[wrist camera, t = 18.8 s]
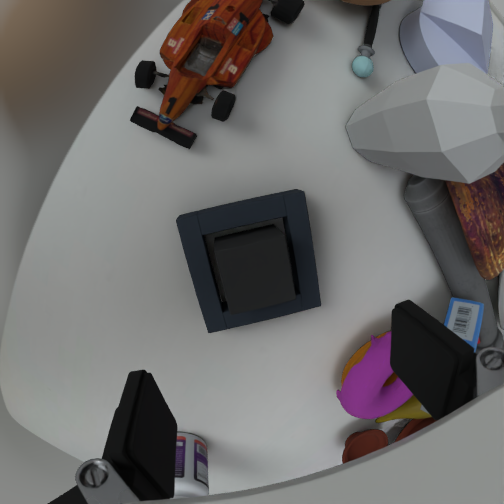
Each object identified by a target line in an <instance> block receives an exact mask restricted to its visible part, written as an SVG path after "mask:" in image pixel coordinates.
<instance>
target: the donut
mask: <svg viewBox="0 0 504 504" xmlns="http://www.w3.org/2000/svg"><path fill="white" fill-rule="evenodd" d="M390 350H391V331H388V332H385V333H383V334H381V335H379V336H377V337H374V336H373V335H371V341H369V342H367V343H366V344H365V345H363V346H362V347H361V348H360V349H359V350H358V351H357V352H356V353H355V354H354V355H353V356H352V357H351V358H350V360H349V361H348V363H347V364H346V366H345V368H344V371H343V374H342V380H341V383H342V388H341V391H339V390H337V398H338V399H339V400H340V402H341V405H342V406H343V408H344V409H345V410H346V412H348V413H349V414H350V415H352V416H355V417H358V418H362V419H374V418H379V417H381V416H384V415H386V414H388V413H390V412H392V411H394V410H395V409H397V408H398V407H400V406H401V405H402V404H404V403H405V402H406V401H407V400H408V399H409V398H410V397H411V396H412V395H413V394H412V392H411V391H410V390H409V389H408V388H407V386H406V385H405V384H404V383H403V382H402V381H401V379H400V378H399V377H398V376H397V375H396V374H395V372H394V371H393V370H392V368H391V366H390ZM391 374H392V375H391ZM390 375H391V376H390ZM389 376H390V377H389ZM388 377H389V378H388ZM387 378H388V379H387Z"/></svg>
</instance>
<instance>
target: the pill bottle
mask: <svg viewBox="0 0 504 504" xmlns="http://www.w3.org/2000/svg"><path fill="white" fill-rule="evenodd" d="M208 495H209V485H208V460H207V446H206V444H205V442H204V441H203V440H202V439H201V438H199V437H197V436H195V435H192V434H188V433H177V444H176V464H175V491H174V497H173V498H170V499H177V498H189V497H199V496H208Z"/></svg>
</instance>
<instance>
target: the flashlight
mask: <svg viewBox="0 0 504 504" xmlns="http://www.w3.org/2000/svg"><path fill="white" fill-rule="evenodd" d="M404 198H405V200H406V202H407V204H408V205H409V207H410V209H411V211H412V212H413V214H414V216H415V218H416V220H417V222H418V223H419V225H420V227H421V229H422V231H423V233H424V235H425V237H426V239H427V241H428V242H429V244H430V246H431V248H432V251H433V253H434V255H435V257H436V259H437V261H438V263H439V265H440V267H441V269H442V272H443V274H444V276H445V278H446V281H447V283H448V285H449V288H450V290H451V292H452V295H453V297H454V298H459V299H465V300H471V301H475V302H480V303H483V304H484V310H483V317H482V323H481V328H480V333H479V338H478V343H477V347H476V351H475V353H476V354H478V353H479V351H481V350H482V349H484V348H487V347H498V348H501V349H503V350H504V341H503V336H502V333H501V332H500V330H499V329H498V327H497V324H496V320H495V315H494V311H493V307H492V303H491V300H490V296H489V292H488V289H487V285H486V282H485V279H484V278H482V277H481V275H480V273H479V272H478V270H477V268H476V266H475V263H474V261H473V258H472V256H471V253H470V250H469V247H468V244H467V241H466V238H465V235H464V233H463V230H462V226H461V222H460V220H459V218H458V215H457V212H456V209H455V206H454V204H453V201H452V198H451V195H450V192H449V190H448V187H447V184H446V182H445V180H441V179H433V178H424V177H420V176H417V175H414V176H413V177H412V178H411V179H410V180H409V182H408V185H407V188H406V192H405V195H404Z"/></svg>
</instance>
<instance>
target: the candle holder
mask: <svg viewBox="0 0 504 504" xmlns="http://www.w3.org/2000/svg"><path fill="white" fill-rule="evenodd" d="M498 308H499V318H500V327H501V328H502V329H503V330H504V269H503V271H502V272H501V273H500V277H499V288H498Z"/></svg>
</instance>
